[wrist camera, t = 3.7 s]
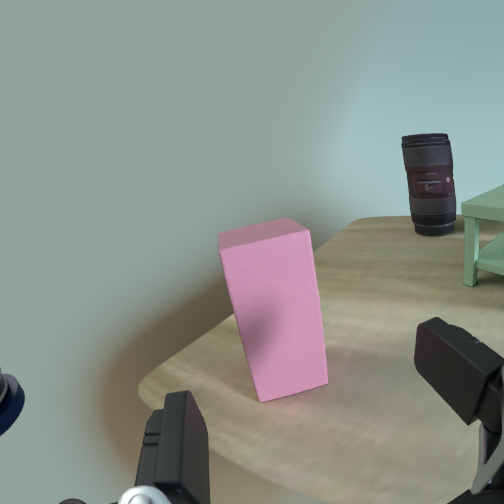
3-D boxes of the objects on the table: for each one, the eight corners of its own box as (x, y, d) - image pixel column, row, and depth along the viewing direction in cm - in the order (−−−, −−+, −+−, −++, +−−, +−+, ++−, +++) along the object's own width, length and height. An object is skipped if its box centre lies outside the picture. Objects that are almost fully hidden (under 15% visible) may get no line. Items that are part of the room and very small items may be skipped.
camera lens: (467, 229, 36) (458, 132, 32) (434, 241, 36) (423, 133, 32) (435, 221, 44) (425, 135, 40) (401, 230, 43) (389, 137, 39)
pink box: (259, 403, 17) (218, 250, 14) (250, 363, 21) (217, 232, 18) (328, 384, 17) (309, 229, 14) (309, 347, 21) (287, 216, 18)
